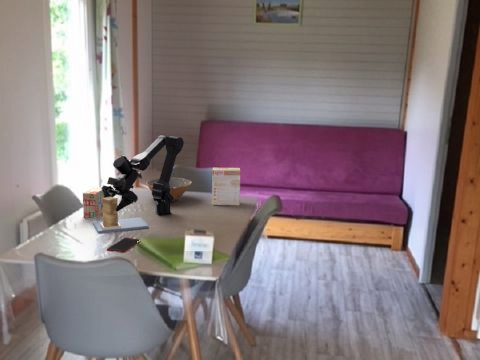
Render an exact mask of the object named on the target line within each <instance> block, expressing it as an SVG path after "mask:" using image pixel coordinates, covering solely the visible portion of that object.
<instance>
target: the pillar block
mask: <svg viewBox="0 0 480 360" xmlns="http://www.w3.org/2000/svg"><path fill="white" fill-rule="evenodd" d="M102 203H103V214H102V221H103V226H104V227H111V226H118V219H119V218H118V217H119V215H118V213H119V211H118V212H117V211H116V208H117V206H118V204H119V203H118V197H116V196H114V197H106V198H102Z"/></svg>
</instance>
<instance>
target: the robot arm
mask: <svg viewBox="0 0 480 360" xmlns="http://www.w3.org/2000/svg"><path fill="white" fill-rule="evenodd" d="M184 143H185V142H184V139H183V138H182V137H180V136H173V135H170V136H167V135H158V136H157V138H156V139H155V140H154V141H153V142H152V143H151V144H150V145H149V146H148V147H147V148H146V149H145V150H143V152H141V153H138V154H136V155H135V156H133V157H132V158H131V159H128V158H127V156H126V155H121V156H120V157H118V158H116V159H115V160H114V161H113V163H112V166H113V167H114V168H115V170H117V171H118V172H119V174H120V175H122V177H118V178H115V177H111V176H109V177H108V180H107V182H106V184H103V185H102V187H100V188H101V189H102V191H103V192H104V198H106V197H116V195H117V196H121V200H120V201H119V203H118V206H117V208H116V211H117V212H118V213H119V211H121V210H123V209H124V208H125V207H128V206H130V205H131V204H134V203H135V204H136V203H137V202H138V200H139V197H138V195H137V194H136V193H135V192H134V191H133V190H131V189H134V188H135V186H134V184H135V182H136V181H137V180H138V179H141V180H142V179H143V176H142V172H143V171H146V170H147V169H148V167H149V166H150V165H151V160H153V158H154V157H155V156H156V155H158V153H159V152H160V151H161V150H162V149H163V148H165V150H166V151H165V152H166V153H165V157H164V158H165V159H164V162H163V165H162V169H161V173H160V175H159V178H160V179H159V181H158V182H157V183H154V184H153V188H152V190H150V191H151V196H152V198H153V201H155V202H156V203H155V213H156V214H157V215H158V216H165V215H172V212H171V204H172V203H173V202H174V201H173V199H174V198H173V197H172V195H171V194H170V186H169V181H170V178H172V173H173V170H174V166H175V162H176V159H177V156H178V155H179V153H181V151H182V150H183V147H184ZM140 171H142V172H140ZM102 208H103V203H102Z"/></svg>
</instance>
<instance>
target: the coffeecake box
mask: <svg viewBox="0 0 480 360" xmlns="http://www.w3.org/2000/svg"><path fill="white" fill-rule="evenodd" d="M211 175H212V180H211V181H212V182H211V183H212V184H211V205H212V206H240V202H241V201H240V197H241V195H240V194H241V190H240V189H241V168H240V167H215V166H214V167H212V174H211Z"/></svg>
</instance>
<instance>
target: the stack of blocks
mask: <svg viewBox="0 0 480 360" xmlns="http://www.w3.org/2000/svg"><path fill="white" fill-rule="evenodd" d="M101 188H102V187H100V186H99V187H98V186H94V187H91V188H89V189H88V190H86V191H85V192H82V207H83V218H86V217H87V219H97V218H99V217H100V216H101V215H102V216H103V208H102V198H104V192H103V191H102V189H101Z"/></svg>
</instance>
